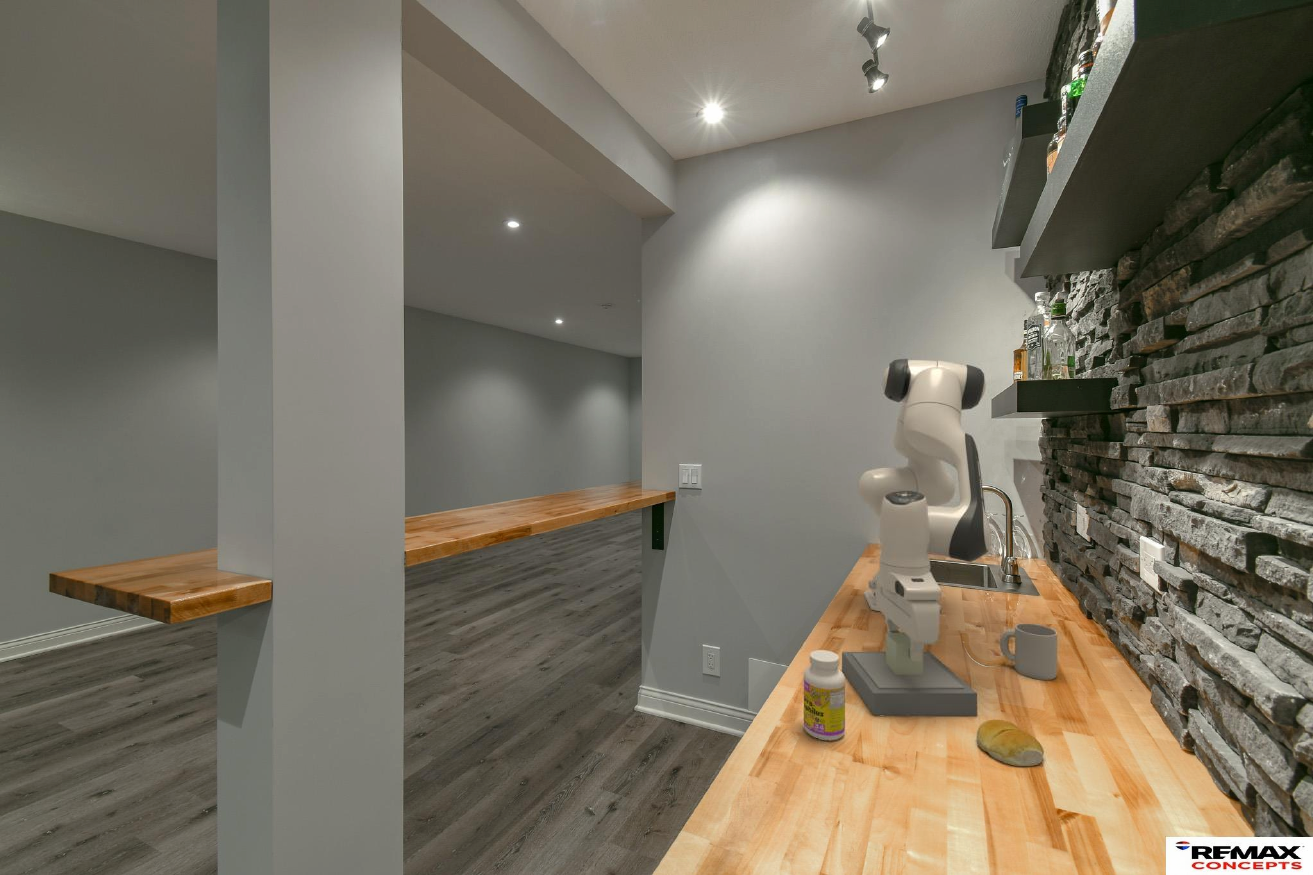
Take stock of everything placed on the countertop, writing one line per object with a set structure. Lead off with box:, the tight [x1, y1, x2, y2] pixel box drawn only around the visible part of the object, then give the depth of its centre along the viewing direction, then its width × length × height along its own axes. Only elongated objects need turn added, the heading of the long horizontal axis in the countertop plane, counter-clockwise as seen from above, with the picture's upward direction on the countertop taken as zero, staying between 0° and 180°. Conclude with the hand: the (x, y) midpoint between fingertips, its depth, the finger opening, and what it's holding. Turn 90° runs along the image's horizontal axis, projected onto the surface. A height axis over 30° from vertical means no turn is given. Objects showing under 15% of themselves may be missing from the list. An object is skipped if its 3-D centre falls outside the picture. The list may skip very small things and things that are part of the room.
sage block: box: [885, 632, 924, 675], centre depth 108 cm, size 5×5×6 cm
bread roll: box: [976, 719, 1045, 767], centre depth 89 cm, size 8×9×4 cm
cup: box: [999, 622, 1058, 681], centre depth 116 cm, size 7×10×9 cm
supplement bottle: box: [803, 649, 846, 742], centre depth 94 cm, size 7×7×13 cm
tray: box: [841, 651, 978, 717], centre depth 108 cm, size 18×18×4 cm
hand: (903, 649), depth 108 cm, fingers open, 8 cm apart
